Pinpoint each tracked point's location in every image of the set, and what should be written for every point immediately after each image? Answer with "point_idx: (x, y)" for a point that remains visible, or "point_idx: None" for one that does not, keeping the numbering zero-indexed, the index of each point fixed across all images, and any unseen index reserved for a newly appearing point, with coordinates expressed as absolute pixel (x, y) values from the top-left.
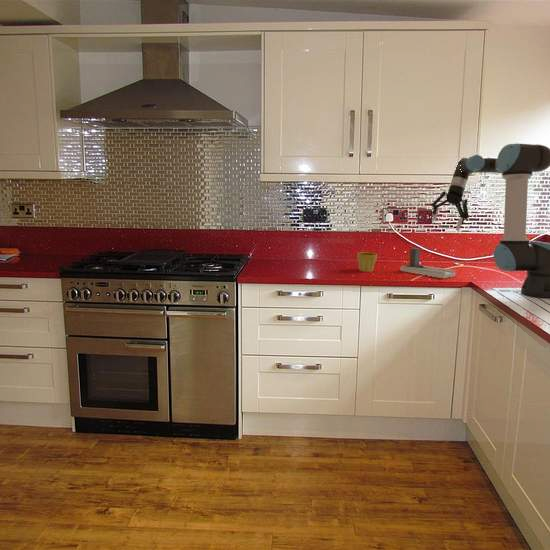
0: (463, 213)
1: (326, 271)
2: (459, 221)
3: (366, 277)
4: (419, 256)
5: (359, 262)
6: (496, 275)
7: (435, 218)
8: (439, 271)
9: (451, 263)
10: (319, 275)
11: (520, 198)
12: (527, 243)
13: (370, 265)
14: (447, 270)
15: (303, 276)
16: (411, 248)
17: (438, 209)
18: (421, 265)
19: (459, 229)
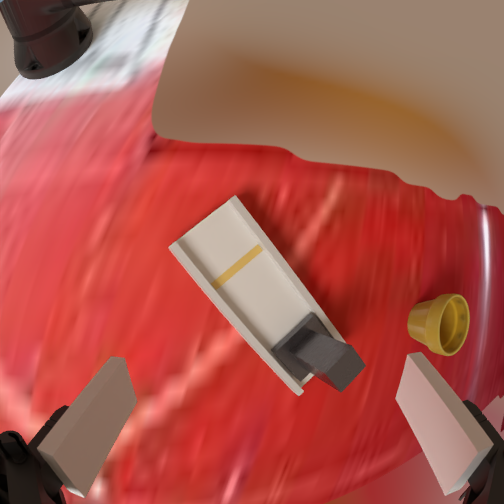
0: (14, 502)
1: (472, 287)
2: (89, 441)
3: (426, 225)
4: (307, 360)
5: (448, 311)
6: (7, 281)
7: (421, 366)
8: (249, 213)
9: (114, 490)
10: (479, 244)
11: None
12: None
13: (428, 301)
14: (195, 266)
15: (490, 234)
16: (362, 361)
17: (477, 441)
18: (282, 345)
19: (110, 357)
